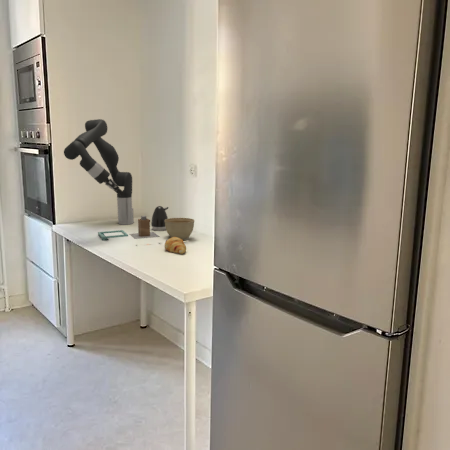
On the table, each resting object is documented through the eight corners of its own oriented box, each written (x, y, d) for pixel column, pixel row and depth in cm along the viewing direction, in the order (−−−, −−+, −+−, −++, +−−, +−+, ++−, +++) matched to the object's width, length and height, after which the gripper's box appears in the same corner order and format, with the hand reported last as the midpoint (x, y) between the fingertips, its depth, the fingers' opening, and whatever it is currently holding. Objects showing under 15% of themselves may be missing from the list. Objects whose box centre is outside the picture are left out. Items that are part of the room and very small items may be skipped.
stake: (129, 236, 253) (128, 215, 250) (153, 233, 258) (152, 213, 256) (134, 241, 240) (134, 219, 238) (160, 238, 246) (159, 217, 244)
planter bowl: (194, 242, 237) (194, 222, 235) (163, 243, 236) (163, 222, 234) (194, 236, 253) (194, 217, 251) (166, 236, 252) (165, 217, 250)
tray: (98, 235, 254) (97, 232, 253) (122, 233, 259) (122, 230, 259) (102, 240, 241) (102, 236, 241) (128, 238, 247) (128, 234, 247)
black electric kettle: (171, 232, 263) (170, 206, 260) (153, 233, 259) (152, 207, 257) (166, 229, 272) (166, 204, 270) (149, 230, 269) (149, 205, 266)
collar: (138, 234, 250) (138, 219, 249) (149, 233, 253) (148, 218, 251) (140, 236, 246) (140, 220, 244) (151, 235, 248) (151, 219, 246)
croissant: (189, 261, 214) (196, 246, 214) (171, 254, 208) (179, 238, 209) (171, 251, 232) (178, 237, 232) (155, 244, 227) (162, 229, 227)
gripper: (105, 168, 227) (129, 189, 234) (101, 166, 240) (123, 187, 247) (95, 179, 226) (119, 200, 233) (91, 177, 239) (113, 197, 246)
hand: (121, 193), depth 240 cm, fingers open, 8 cm apart
